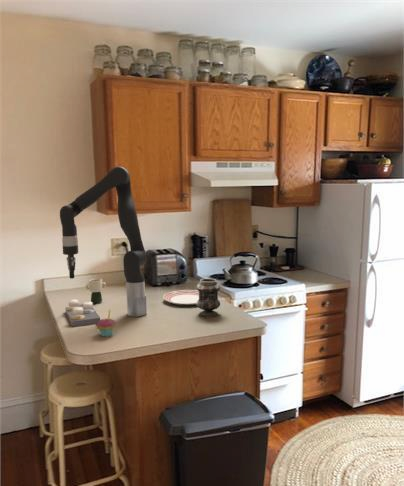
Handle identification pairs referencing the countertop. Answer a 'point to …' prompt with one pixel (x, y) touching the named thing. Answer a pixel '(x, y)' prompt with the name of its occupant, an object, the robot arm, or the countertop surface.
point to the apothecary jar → (208, 297)
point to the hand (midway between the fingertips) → (72, 278)
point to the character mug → (95, 289)
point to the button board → (82, 316)
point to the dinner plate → (182, 297)
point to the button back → (73, 303)
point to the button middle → (87, 305)
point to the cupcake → (106, 326)
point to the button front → (77, 311)
